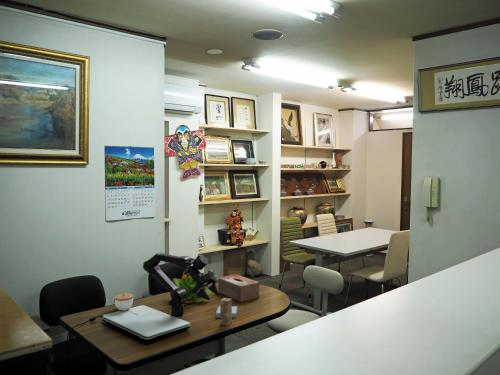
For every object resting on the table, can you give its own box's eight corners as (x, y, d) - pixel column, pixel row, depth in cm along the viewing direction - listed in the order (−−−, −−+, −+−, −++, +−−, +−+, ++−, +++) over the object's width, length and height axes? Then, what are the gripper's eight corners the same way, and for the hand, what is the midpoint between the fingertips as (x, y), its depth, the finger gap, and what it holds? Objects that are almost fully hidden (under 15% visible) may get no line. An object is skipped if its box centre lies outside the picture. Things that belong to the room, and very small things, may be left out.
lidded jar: (127, 312, 234) (127, 296, 234) (111, 311, 236) (110, 295, 236) (136, 306, 245) (136, 291, 244) (120, 305, 247) (120, 290, 247)
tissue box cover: (218, 292, 273) (218, 277, 272) (235, 288, 281) (235, 274, 281) (241, 302, 252) (241, 286, 252) (259, 297, 261) (259, 282, 261)
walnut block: (220, 324, 216) (220, 300, 215) (224, 321, 220) (224, 297, 219) (227, 325, 214) (227, 301, 213) (231, 322, 218) (231, 298, 218)
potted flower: (179, 310, 238) (179, 280, 237) (160, 300, 256) (160, 272, 256) (214, 301, 254) (214, 273, 253) (194, 292, 272) (194, 266, 271)
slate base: (216, 317, 226) (216, 313, 226) (218, 310, 237) (218, 306, 237) (235, 317, 225) (235, 313, 225) (237, 310, 236) (237, 306, 236)
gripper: (195, 270, 213) (214, 293, 208) (213, 262, 229) (231, 283, 225) (183, 283, 216) (201, 306, 212) (202, 274, 233) (219, 296, 229)
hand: (214, 297), depth 220 cm, fingers open, 9 cm apart
